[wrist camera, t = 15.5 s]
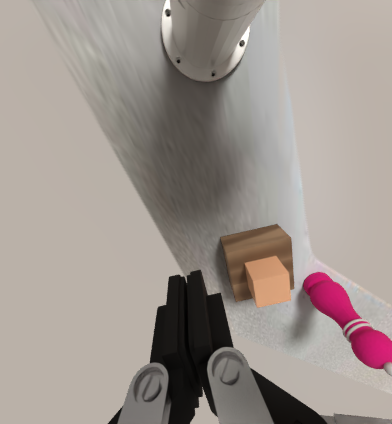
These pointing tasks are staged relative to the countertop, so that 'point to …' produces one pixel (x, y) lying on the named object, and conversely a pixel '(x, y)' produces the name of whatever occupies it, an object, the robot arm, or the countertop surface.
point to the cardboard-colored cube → (268, 281)
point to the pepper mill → (350, 322)
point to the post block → (255, 255)
